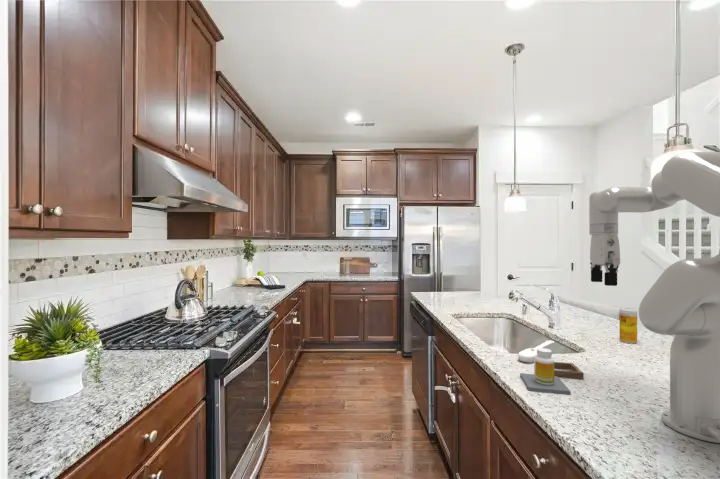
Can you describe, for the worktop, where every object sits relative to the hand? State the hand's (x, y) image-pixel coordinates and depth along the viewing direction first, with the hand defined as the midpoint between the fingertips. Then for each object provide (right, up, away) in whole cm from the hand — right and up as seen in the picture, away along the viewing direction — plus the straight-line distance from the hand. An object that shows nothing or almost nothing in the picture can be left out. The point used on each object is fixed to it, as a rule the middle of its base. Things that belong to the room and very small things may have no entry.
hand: (603, 283), depth 109 cm
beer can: (+39, -31, +40) cm, 64 cm away
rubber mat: (-22, -30, -5) cm, 38 cm away
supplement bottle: (-22, -29, -5) cm, 37 cm away
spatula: (-9, -31, +23) cm, 39 cm away
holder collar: (-10, -30, +4) cm, 32 cm away
